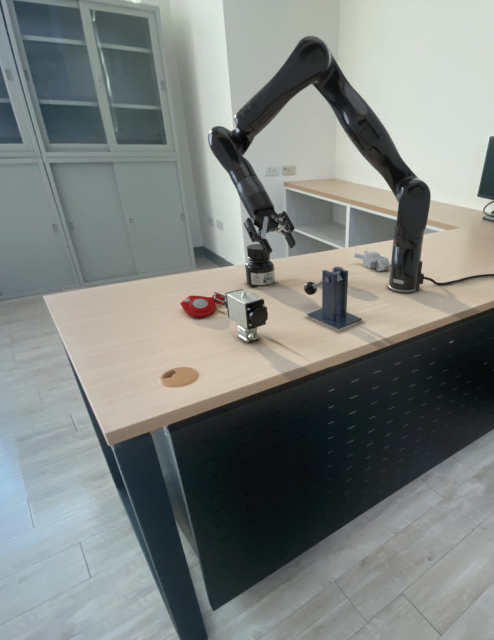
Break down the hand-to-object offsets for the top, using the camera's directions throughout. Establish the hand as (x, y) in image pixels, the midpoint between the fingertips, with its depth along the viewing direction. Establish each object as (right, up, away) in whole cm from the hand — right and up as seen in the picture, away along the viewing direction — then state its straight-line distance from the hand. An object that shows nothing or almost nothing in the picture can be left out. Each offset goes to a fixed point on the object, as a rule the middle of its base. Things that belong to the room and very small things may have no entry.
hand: (282, 249), depth 116 cm
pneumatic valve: (-5, -27, -16) cm, 32 cm away
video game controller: (+13, -6, +19) cm, 24 cm away
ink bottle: (-10, -6, +16) cm, 20 cm away
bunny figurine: (+28, +5, +38) cm, 47 cm away
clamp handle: (+13, -13, -7) cm, 20 cm away
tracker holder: (-20, -18, -4) cm, 28 cm away
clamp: (+15, -21, -5) cm, 26 cm away
